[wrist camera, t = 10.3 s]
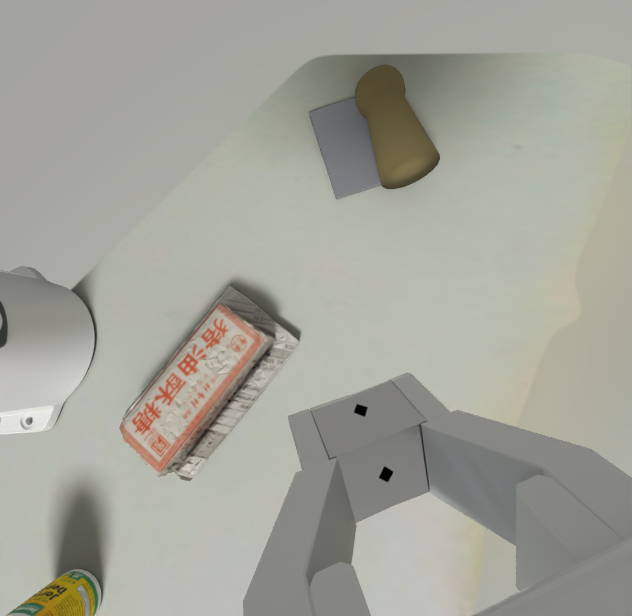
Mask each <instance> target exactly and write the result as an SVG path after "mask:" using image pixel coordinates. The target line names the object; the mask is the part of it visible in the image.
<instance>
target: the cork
mask: <svg viewBox="0 0 632 616" xmlns="http://www.w3.org/2000/svg"><path fill="white" fill-rule="evenodd" d="M404 95H405V84H404V80H403V77H402V75H401V74H400V72H399V71H398V70H397V69H396V68H394V67H392V66H388V65H380V66H378V67H375V68H373V69H371V70H370V71H368V72H367V73H366V74H365V75H364V76H363V77H362V78H361V79H360V81H359V82H358V84H357V87H356V90H355V104H356V106H357V109H358V111H359V113H360V114H361V115H362V116H363V117H364V118H366V119H367V123H368V127H369V132H370V137H371V141H372V146H373V150H374V155H375V159H376V164H377V169H378V173H379V178H380V182H381V185H382V187H384V188H386V189H396V188H401V187H404V186H407V185H410V184H412V183H414V182H416V181H418V180H420V179H421V178H423V177H424V176H426V175H427V174H428V173H430V172H431V171H432V170H433V169H434V168H435V167H436V165H437V164H438V162H439V160H440V155H439V153H438V151H437V149H436V148H435V146H434V145H433V143H432V141H431V140H430V138H429V136H428V135H427V133H426V131H425V130H424V128H423V127H422V125H421V123H420V122H419V120H418V118H417V117H416V115H415V113H414V112H413V110H412V109H411V107H410V105H409V104H408V102H407V100H406V99H405V97H404Z"/></svg>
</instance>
